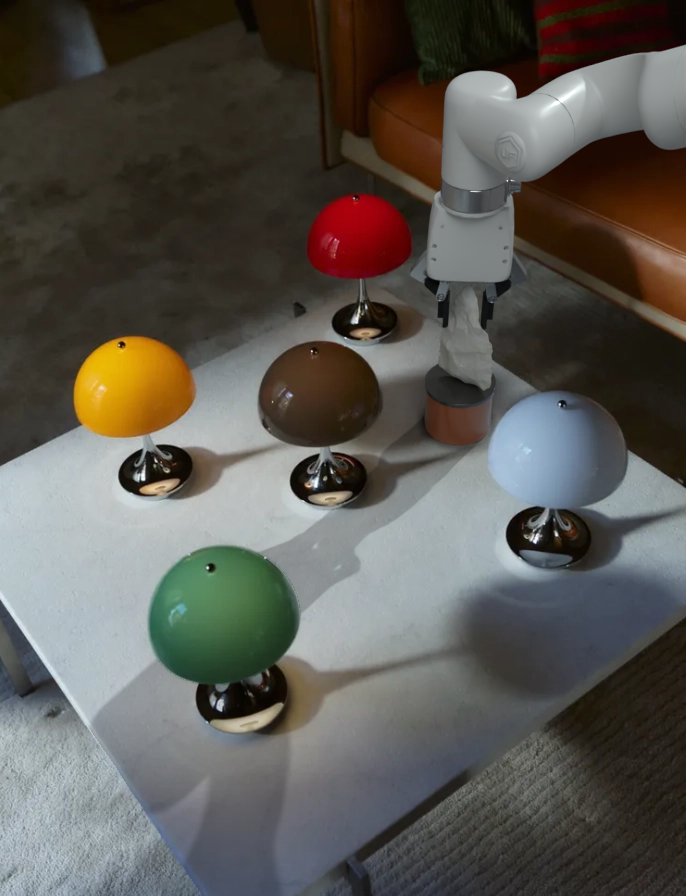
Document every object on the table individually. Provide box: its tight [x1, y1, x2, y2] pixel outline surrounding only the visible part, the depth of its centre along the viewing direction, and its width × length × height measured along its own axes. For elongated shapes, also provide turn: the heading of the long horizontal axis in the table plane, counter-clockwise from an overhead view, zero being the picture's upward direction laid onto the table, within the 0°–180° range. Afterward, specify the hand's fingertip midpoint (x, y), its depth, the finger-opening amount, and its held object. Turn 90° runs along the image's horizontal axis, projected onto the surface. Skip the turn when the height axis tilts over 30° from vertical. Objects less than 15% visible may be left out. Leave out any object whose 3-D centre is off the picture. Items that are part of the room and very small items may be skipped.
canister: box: [424, 363, 497, 447], centre depth 130 cm, size 10×10×8 cm
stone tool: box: [437, 283, 494, 391], centre depth 122 cm, size 8×3×15 cm, turn 49°
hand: (464, 320), depth 120 cm, fingers closed on stone tool, 4 cm apart
